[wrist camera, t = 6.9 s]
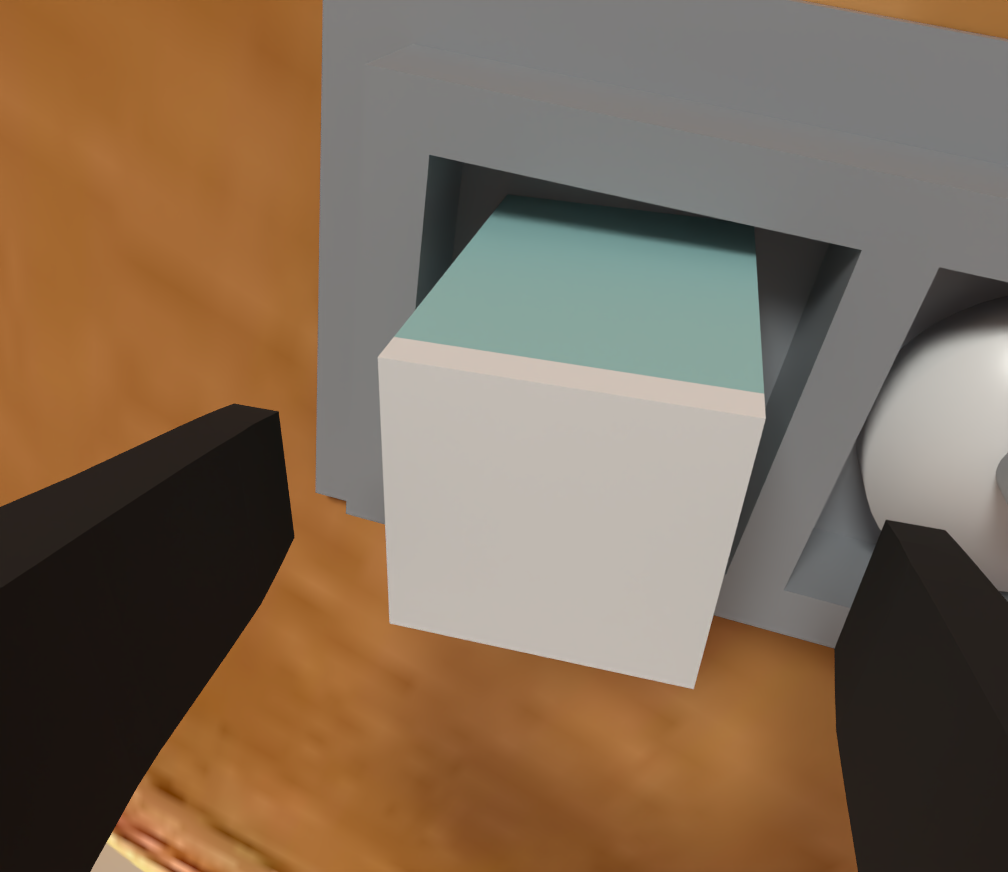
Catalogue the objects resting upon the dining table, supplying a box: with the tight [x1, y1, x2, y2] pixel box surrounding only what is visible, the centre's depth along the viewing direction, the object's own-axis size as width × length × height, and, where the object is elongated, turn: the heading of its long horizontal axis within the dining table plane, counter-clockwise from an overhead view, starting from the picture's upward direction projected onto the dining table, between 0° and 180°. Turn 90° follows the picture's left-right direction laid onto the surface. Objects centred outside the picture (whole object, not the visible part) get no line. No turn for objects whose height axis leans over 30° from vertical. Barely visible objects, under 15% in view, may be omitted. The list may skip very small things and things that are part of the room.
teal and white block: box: [378, 194, 766, 689], centre depth 12 cm, size 4×4×6 cm
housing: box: [316, 0, 1008, 649], centre depth 13 cm, size 18×11×3 cm, turn 81°
